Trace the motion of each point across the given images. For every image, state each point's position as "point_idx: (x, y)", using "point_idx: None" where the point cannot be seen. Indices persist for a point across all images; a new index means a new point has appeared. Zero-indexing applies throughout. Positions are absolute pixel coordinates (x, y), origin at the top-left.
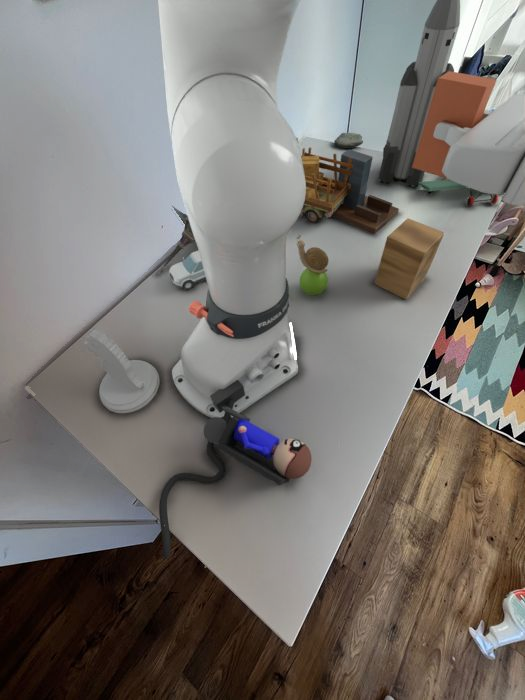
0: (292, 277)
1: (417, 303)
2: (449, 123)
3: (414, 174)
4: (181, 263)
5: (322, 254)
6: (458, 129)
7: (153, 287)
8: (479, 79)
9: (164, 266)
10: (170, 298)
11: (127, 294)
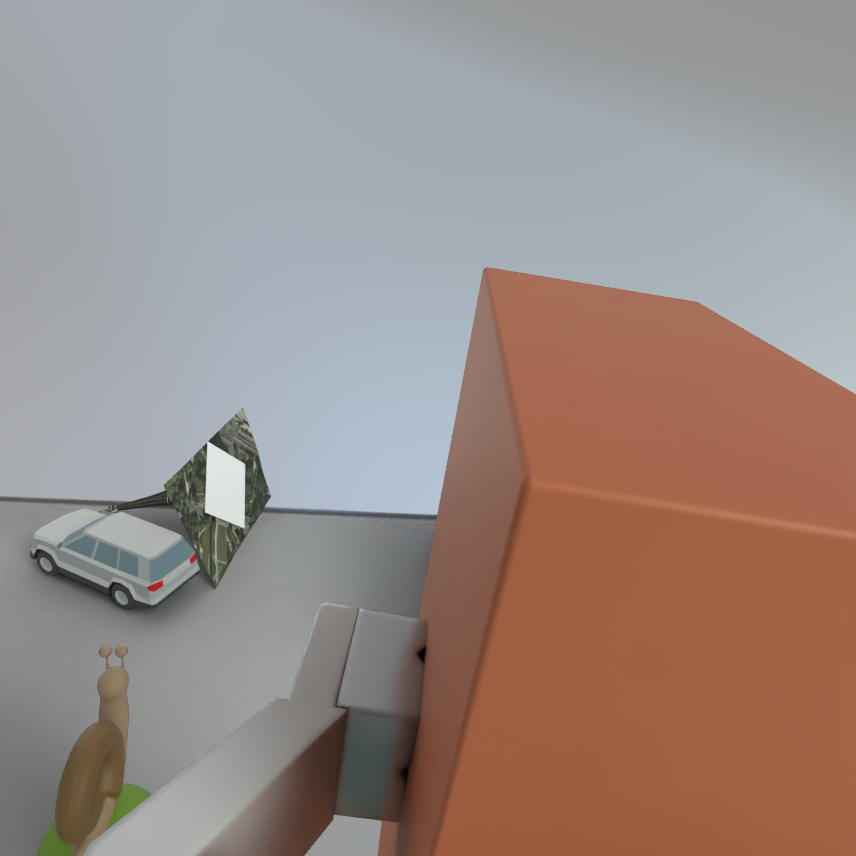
0: (173, 775)
1: None
2: (352, 677)
3: None
4: (98, 517)
5: (63, 781)
6: (154, 811)
7: (47, 522)
8: (773, 405)
9: (117, 508)
10: (8, 560)
11: (14, 499)
